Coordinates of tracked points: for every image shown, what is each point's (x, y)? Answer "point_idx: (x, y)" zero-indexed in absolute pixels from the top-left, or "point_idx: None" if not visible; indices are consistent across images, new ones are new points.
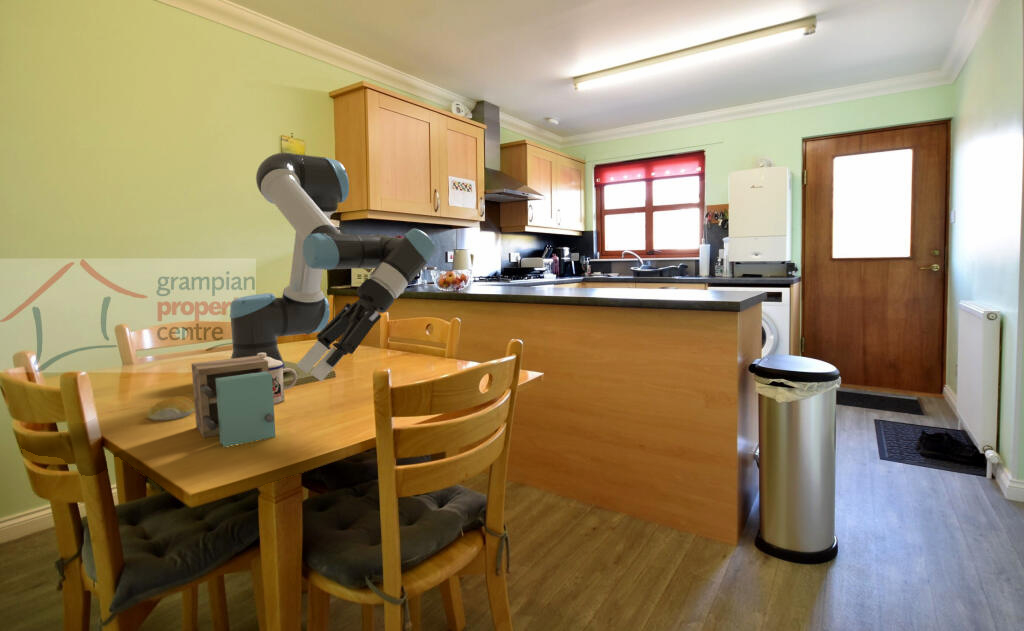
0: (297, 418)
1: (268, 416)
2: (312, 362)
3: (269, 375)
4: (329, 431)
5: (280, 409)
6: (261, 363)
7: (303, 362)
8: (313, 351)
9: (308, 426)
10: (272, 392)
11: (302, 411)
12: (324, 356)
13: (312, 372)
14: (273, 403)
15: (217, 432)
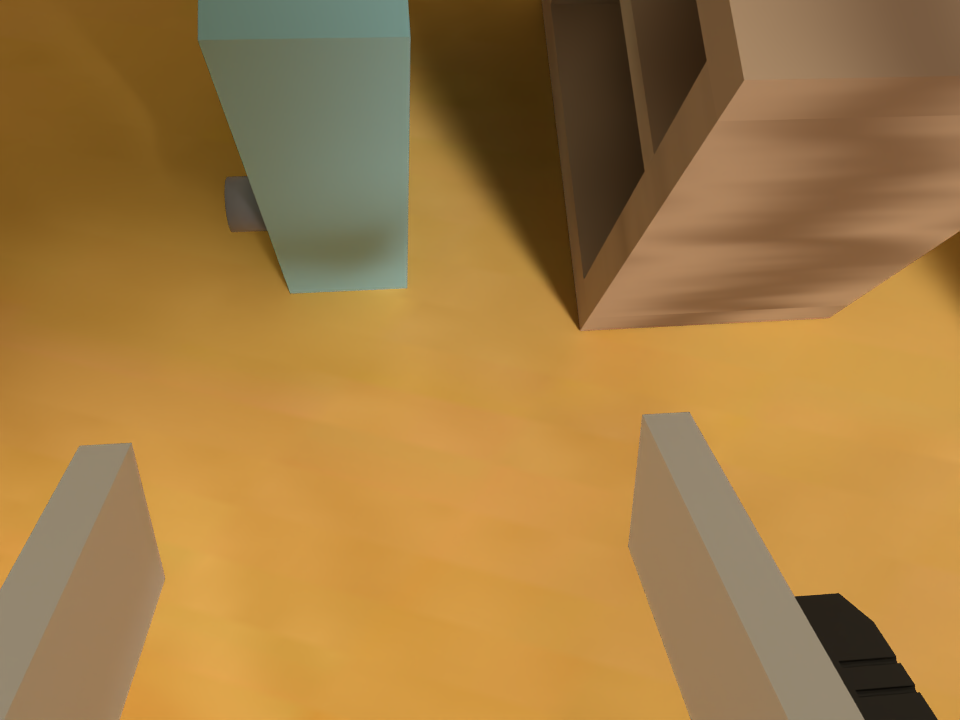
0: (619, 501)
1: (225, 186)
2: (672, 621)
3: (203, 26)
4: (160, 609)
5: (920, 456)
6: (722, 28)
7: (658, 492)
8: (730, 653)
9: (376, 517)
10: (236, 143)
11: (784, 577)
12: (9, 660)
13: (72, 462)
14: (255, 194)
15: (549, 47)
